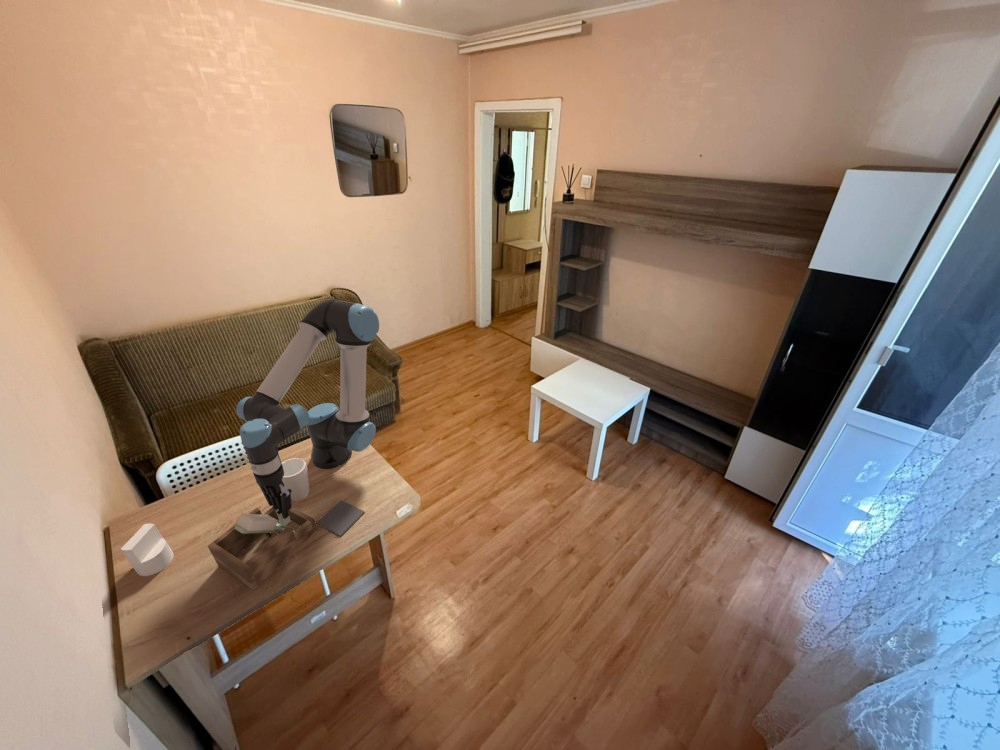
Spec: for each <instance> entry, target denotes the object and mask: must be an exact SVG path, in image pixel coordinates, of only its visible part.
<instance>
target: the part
mask: <svg viewBox="0 0 1000 750" xmlns="http://www.w3.org/2000/svg"><path fill="white" fill-rule="evenodd" d="M277 522H279V521H278V520H276V519H275V518H273V517H271V516H269V515H267V514H264V513H263V514H262V513H261V514H250V513H242V514H241V515H240V518H239V519H238V522H237V523H236V524H238V525H239V526H241V527H243V528H244V529H246V530H248V531H264V530H274V528H275V526H276V524H277Z"/></svg>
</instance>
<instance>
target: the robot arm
mask: <svg viewBox="0 0 1000 750" xmlns="http://www.w3.org/2000/svg"><path fill="white" fill-rule="evenodd" d="M379 320H380V319H379V316H378V314H377V312H376V311H375V310H374V309H373V308H372V307H370V306H367V305H364V304H362V303H356V302H351V301H345V300H340V299H337V298H331V299H325V300H323V301H322V302H319V303H318V304H316V305H315V306H313V307H312V308H311V309H310V310H309V311H308V312H307V313H306V314H305V315H304V316H303V318H302V319H301V321H300V322H299V323H298V327H299V329H298V330H297V332H296V333H295V335H294V337H293V338H292V340H291V341H290V342H289V343H288V345H287V346H286V348H285V349H284V351H283V352H282V354H281V355H280V357H279V358H278V359H277V360H276V362H275V364H274V365H273V366H272V368H271V369H270V371H269V373H267V375H266V377H265V378H264V380H262V382H261V383H260V385H259V387H258V388H257V390H256V391H255V393H254V394H252V395H253V396H245V397H243V398H242V399H240V401H239V402H238V404H237V405H236V409H235V412H236V414H237V416H238V417H239V418H240V419H241V420H244V421H245V423H244V424H242V425H241V426H240V428H239V437H240V440H241V444H242V446H243V448H244V451H245V454H246V457H247V459H248V461H249V465H250V470H251V471H252V473H253V476H254V479H255V482H256V484H257V485H258V486H259V488H260V490H261V492H262V495H264V497H265V500H266V502H267V504H268V505H269V506H270V507H273V509H275V510H276V513H277V516H278V519H279V521H278V522H280V525H281V526H283V527H284V526H285V525H288V524H289V523H290V522H292V521H291V519H290V516H289V513H288V511H289V510H290V509H291V508H292V507H293V506H292V499H291V492H292V491H291V489H287V490H286V489H285V488H284V483H283V481H282V478H283V476H284V470H283V466H282V464H281V463H282V460H281V457H280V454H279V450H278V445H280V444H281V443H283V442H284V441H285V440H287V439H289V438H290V437H291V436H293V435H294V434H296V433H298V432H300V431H301V430H302V429H303V428H304V427H305V426H306V427H307V429H308V433H309V437H310V440H311V444H312V449H311V455H310V458H311V462H312V465H314V467H316V468H318V469H322V470H323V469H324V470H327V469H328V470H329V469H335V468H337V467H340V466H342V465H344V464H345V463H347V462H348V461H349V460H350V459H351V456H352V454H353V452H359V453H360V452H363V451H365V449H367V448H368V447H369V446H370V445H371V444H372V442H373V440H374V438H375V437H376V431H377V428H376V425H375V424H374V423H373V422H371V421H370V412H369V411H368V410H367V409H366V398H367V397H366V396H367V395H366V394H367V393H366V391H367V390H366V388H367V352H368V351H367V350H368V347H370V345H372V341H373V340H375V339H376V337H377V335H378V334H377V333H379V330H380V321H379ZM331 334H335V344H337V345H338V346H339V347H340V362H339V364H340V371H339V372H340V383H339V384H340V391H339V392H340V394H339V395H340V396H339V400H340V401H339V402H340V404H339V408H340V410H339V408H338V406H337V405H336V404H335V403H333V402H326V403H321V404H318V405H315V406H313V407H311V408H310V409H308V410H307V409H306V408H305V407H304V406H302V405H301V404H298V403H296V404H291V405H289V406H288V407H283V406H281V405H279V404H281V403H280V402H281V401H282V400H283V398H284V397H285V396H286V394H287V392H288V391H289V389H290V387H292V384H293V383H294V381H296V378H298V376H299V375H300V373H301V371H302V370H303V368H304V367H305V365H306V364H307V362H308V361H309V360H310V358H311V356H312V354H313V353H314V351H315V350H316V348H317V347H318V345H319V344H320V343H321V341H325V340H326V339H327V338H328V336H329V335H331Z"/></svg>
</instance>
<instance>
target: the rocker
mask: <svg viewBox="0 0 1000 750" xmlns="http://www.w3.org/2000/svg"><path fill="white" fill-rule="evenodd" d="M287 526H289V525H288V524H287V525H285V526H284V527H283V526H281V525H280V522H279V521H278V522H277V524H276V526H275V528H274V530H264V531H248V530H246V529H244V528H243V527H241V526H239V525H236V526H235V528H234V529H236V530H237V531H239V532H241V533H242V534H245V533H264V534H266V533H270V534H271V533H276V534H277V535H278V534H279V533H281V532H282V531H283V530H284V529H285V528H286V527H287ZM292 530H293V532H295V531H296V530H297V529H295V528H293V527H292Z"/></svg>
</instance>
